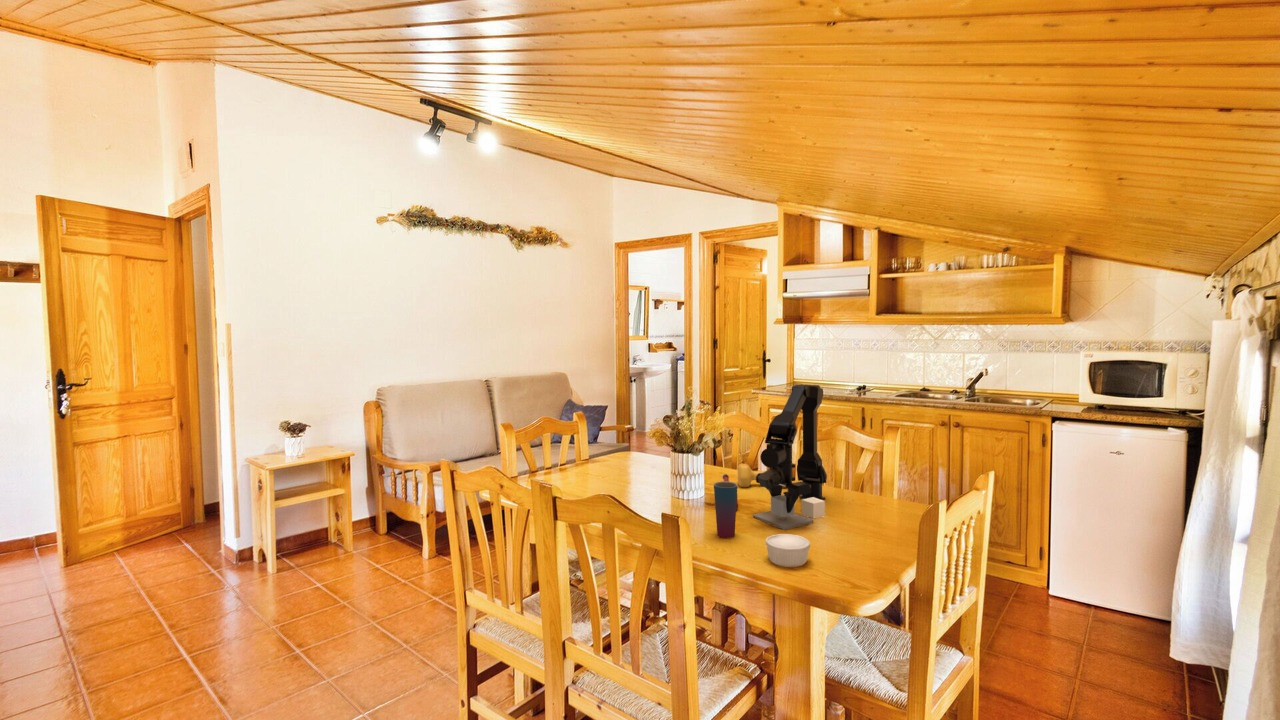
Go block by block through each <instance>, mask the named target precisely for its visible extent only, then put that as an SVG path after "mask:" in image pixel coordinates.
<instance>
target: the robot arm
mask: <svg viewBox="0 0 1280 720" xmlns="http://www.w3.org/2000/svg"><path fill="white" fill-rule="evenodd" d="M823 398H824V389H823V388H822V387H821V386H820V385H819V384H818V385H817V384H804V383H802V384H794V385H792V386H791V393H790V394H789V396H788V398H787V401H786V403H785V405H784V407H783V408H782V410H781V413H779V414H777V415H776V416H774V418H773V419H772V421H771V422H770V424H769V425H768V429H767V433H766V437H765V441H764V443H765V444H766V448H765V449H763V450H762V451H761V454H760V456H759V457H760V461H761V463H762V465H763V466H765V467H766V468H769V469H768V470H764V471H765V472H763V473H758V475H757V476H756V480H755V482H756V483H757V484H759V486H760V487H761V488H765V489H766V490H767V491H768V492H769V494H770V498H771V497H774V496H779V495H785V496H786V507H787V513H790V512H791V511H792V508H793V506H794V507H795V504H796V502H797V500H798V498H800V499H801V500H802V499H807V498H811V497H814V498H817V499H820V500H825V499H826V497H825V496H823V484H827V480H828V479H827V478H828V474H827V472H826V470H825V467H824V466H823V459H822V458H821V455H820V454H819V453H818V409H819V407H820V406H821V404H822V403H823ZM801 411H802V454H801V455H800V457H799V458H798V459H797V465H796V464H795V463H793V445H794V442H795V438H796V436H797V433H798V427H797V424H796V422H797V419H798V418H799V417H798V416H799V414H800V412H801ZM794 468H796V475H797V481H796V477H795V476H793V469H794ZM794 481H796V482H794ZM782 486H783V487H786V489H787V491H783V488H782ZM782 491H783V492H782Z"/></svg>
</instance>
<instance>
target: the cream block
mask: <svg viewBox="0 0 1280 720" xmlns="http://www.w3.org/2000/svg"><path fill="white" fill-rule="evenodd" d="M803 515H805V516H804V517H806V516H808V517H807V518H809V517H811V518H810V519H812V518H813V519H812V520H815V519H814V518H816V519H819V518H818V517H820V518H823V517H822V516H824V517H826V500H825V499H823V500H820V499H817V498H814V497H811V498H807V499H802V498H801V516H803Z"/></svg>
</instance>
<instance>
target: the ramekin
mask: <svg viewBox="0 0 1280 720" xmlns="http://www.w3.org/2000/svg"><path fill="white" fill-rule="evenodd" d="M765 545H766V551H767V556H768V559H769V561H770V562H771V563H772V564H774V565H776V566H780V567H784V568H797V567H801V566H803V565H805V563H806V562H807V561H808V558H809V557H808V556H809V550H810V547H811V542H810V540H808V539H807V538H805V537H803V536H801V535H796V534H790V533H778V534H773V535H770V536H767V537H766V539H765Z"/></svg>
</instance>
